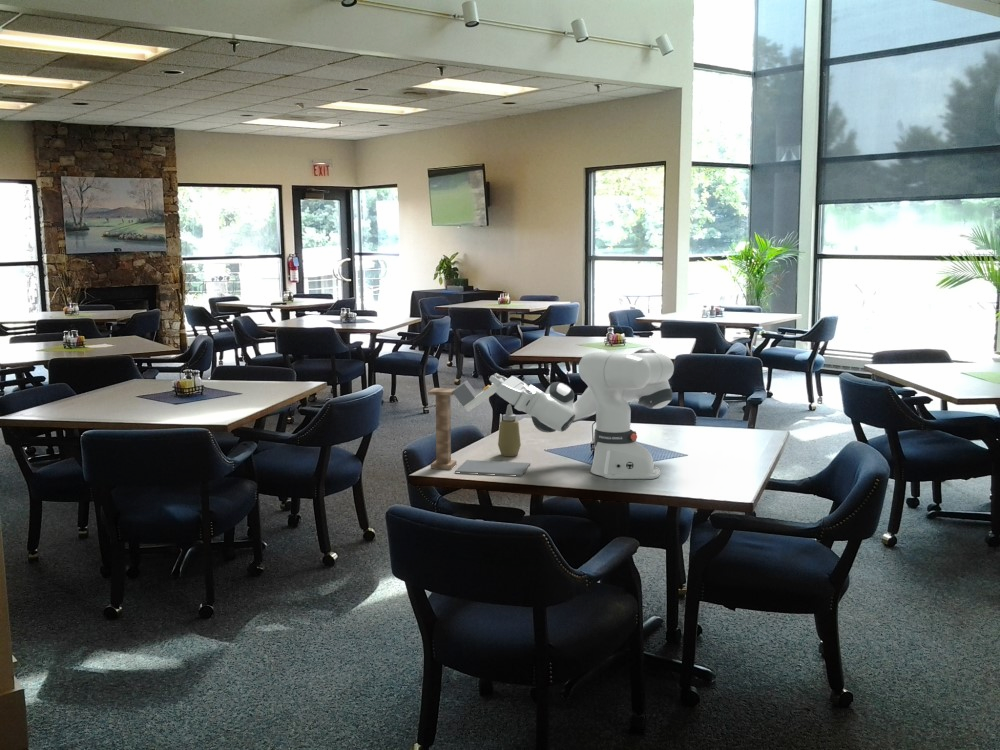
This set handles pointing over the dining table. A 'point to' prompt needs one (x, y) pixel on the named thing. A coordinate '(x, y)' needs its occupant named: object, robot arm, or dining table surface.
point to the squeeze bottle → (509, 434)
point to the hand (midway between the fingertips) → (491, 376)
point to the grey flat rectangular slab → (493, 467)
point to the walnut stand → (443, 428)
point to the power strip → (482, 396)
